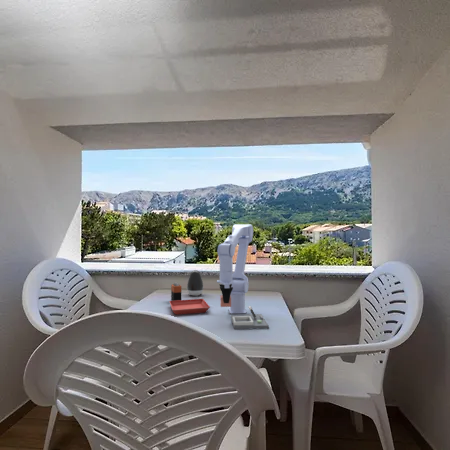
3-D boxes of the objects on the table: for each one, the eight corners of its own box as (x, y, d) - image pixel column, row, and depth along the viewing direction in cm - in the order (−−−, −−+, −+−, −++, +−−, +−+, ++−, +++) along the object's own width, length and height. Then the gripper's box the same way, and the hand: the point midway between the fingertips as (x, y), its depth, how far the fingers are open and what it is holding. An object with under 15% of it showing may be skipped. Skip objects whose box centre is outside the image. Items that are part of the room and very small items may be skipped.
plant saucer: (172, 316, 135) (172, 309, 135) (169, 306, 152) (169, 300, 152) (210, 314, 140) (210, 307, 140) (203, 304, 157) (203, 298, 157)
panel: (230, 317, 133) (230, 311, 133) (261, 316, 134) (261, 311, 134) (234, 329, 117) (234, 323, 117) (268, 328, 118) (268, 322, 118)
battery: (178, 299, 166) (178, 282, 167) (181, 302, 160) (181, 284, 160) (171, 300, 165) (171, 282, 165) (173, 303, 158) (173, 284, 159)
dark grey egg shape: (204, 293, 184) (204, 269, 184) (201, 296, 173) (202, 271, 174) (188, 292, 185) (189, 268, 185) (185, 296, 174) (185, 271, 175)
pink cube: (220, 304, 130) (220, 294, 130) (230, 304, 130) (230, 294, 131) (220, 306, 126) (220, 296, 126) (231, 306, 126) (231, 296, 126)
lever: (253, 318, 128) (248, 306, 128) (256, 316, 128) (250, 305, 128) (254, 320, 126) (248, 308, 126) (257, 318, 126) (251, 307, 126)
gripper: (216, 268, 135) (216, 297, 135) (217, 273, 121) (217, 305, 121) (231, 268, 136) (231, 297, 136) (234, 273, 121) (234, 305, 121)
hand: (225, 301), depth 128 cm, fingers closed on pink cube, 4 cm apart
